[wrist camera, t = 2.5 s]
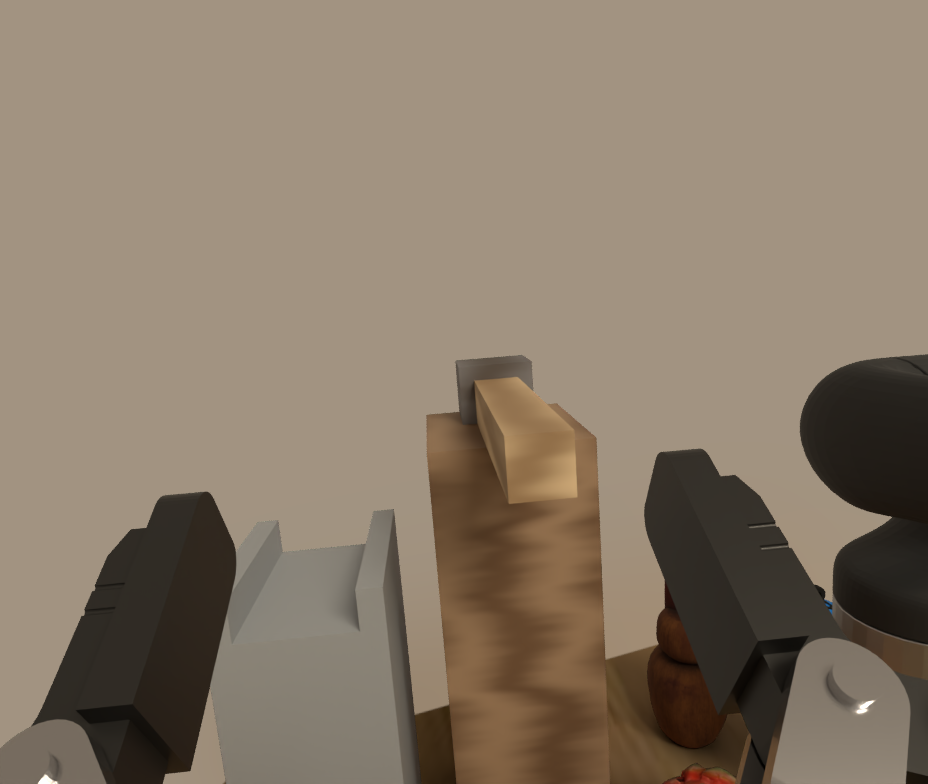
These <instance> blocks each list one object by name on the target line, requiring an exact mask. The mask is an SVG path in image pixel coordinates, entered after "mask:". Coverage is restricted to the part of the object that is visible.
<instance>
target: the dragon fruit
mask: <svg viewBox="0 0 928 784" xmlns="http://www.w3.org/2000/svg"><path fill="white" fill-rule="evenodd" d="M735 781H736V777H735V776H734V775H731V774H730V773H729V772H728V771H726V770H724V769H722V768H720V767H713V768H707V769H705V768H703V767H702V766H701V765H699V764H698V763H695V764H692V765H691V766H689V767H688V768H686V769H685V770H683V771H682V774H681V777H680V776H679V777H674V778H671V779H668V780H667V781H665V782H664V783H663V784H735Z"/></svg>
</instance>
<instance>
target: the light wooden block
mask: <svg viewBox="0 0 928 784" xmlns="http://www.w3.org/2000/svg"><path fill="white" fill-rule="evenodd" d="M456 373H457V386H458V399H459V411H460V416H461V420H462V423H463V425H467V424H478V427H479V429H480V432H481V434H482V437H483V439H484V442H485V445H486V447H487V450H488V452H489V455H490V457H491V460H492V462H493V465H494V468H495V470H496V473H497V475H498V478H499V480H500V483H501V485H502V488H503V491H504V493H505V496H506V498H507V501H508V503H509V504H513V503H524V502H534V501H545V500H555V499H566V498H576V497H577V476H576V454H575V433H574V429H573V428H572V427H571V426H570V425H569V424H567V423H566V422H565V421H564V420H563V419H562V418H561V417H560V416H559V415H558V414H557V413H556V412H555V411H554V410H553V409H551V408H550V407H549V406H548V405H547V404H546V403H545V402H544V401H543V400H542V399H541V398H540V397H539V396H537V395H536V394H535V393H534V392H533V379H532V362H531V361H530V360H529V359H527V358H526V357H524V356H522V355H518V356H506V357H494V358H483V359H470V360H458V361H456Z"/></svg>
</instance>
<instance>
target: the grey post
mask: <svg viewBox="0 0 928 784" xmlns="http://www.w3.org/2000/svg"><path fill="white" fill-rule="evenodd" d="M210 687H211V694H212V700H213V706H214V712H215V718H216V724H217V730H218V737H219V742H220V749H221V755H222V761H223V767H224V773H225V780H226V784H421V774H420V764H419V754H418V744H417V735H416V725H415V715H414V706H413V695H412V685H411V675H410V665H409V655H408V645H407V635H406V626H405V616H404V605H403V596H402V586H401V576H400V566H399V556H398V547H397V537H396V526H395V516H394V509H392V510H381V511H374V512H373V516H372V520H371V524H370V529H369V533H368V537H367V541H366V544H361V545H351V546H341V547H331V548H320V549H310V550H300V551H289V552H282V545H281V537H280V530H279V522H278V521H265V522H258V523H257V524H256V525H255V527H254V528H253V529H252V531H251V532H250V534H249V535H248V536H247V538H246V539H245V540H244V542H243V543H242V544H241V546H240V547H239V549H238V550H237V552H236V576H235V581H234V585H233V589H232V594H231V598H230V602H229V607H228V611H227V615H226V620H225V624H224V628H223V633H222V637H221V641H220V646H219V650H218V654H217V658H216V663H215V667H214V671H213V676H212V680H211V684H210Z"/></svg>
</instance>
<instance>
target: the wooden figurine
mask: <svg viewBox="0 0 928 784" xmlns="http://www.w3.org/2000/svg"><path fill="white" fill-rule="evenodd" d="M656 634H657V641H658V643H659V645H658V646H657V647H656V648H655V649H654V651H653V652H652V654H651V656H650V659H649V662H648V670H647V678H648V687H649V692H650V698H651V704H652V707H653V711H654V714H655V716H656V719H657V721H658V724H659V726H660V728H661V730H662V731H663V732H664V733H665V734H666V736H668V737H669V738H670V739H672V740H673V741H674V742H676V743H677V744H679V745H682V746H684V747H688V748H699V747H703V746H706V745H708V744H710V743H712V742H714V740H715V739H716V737H717V736H718V734H719V732H720V730H721V729H722V727H723V724H724V722H725V720H726V716H727V714H724V715H718V713H717V711H716V708H715V706H714V703H713V701H712V698H711V695H710V693H709V690H708V688H707V685H706V683H705V680H704V678H703V675H702V673H701V670H700V668H699V665H698V663H697V660H696V657H695V655H694V652H693V650H692V647H691V645H690V642H689V640H688V637H687V635H686V632H685V630H684V627H683V625H682V622H681V619H680V617H679V614H678V612H677V609H676V607H675V604H674V602H673V599H672V597H671V594H670V592H669V589H668V586H667V584H666V581H665V609H664V610H663V611H662V612H661V613H660V614H659V617H658V620H657V632H656Z"/></svg>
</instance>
